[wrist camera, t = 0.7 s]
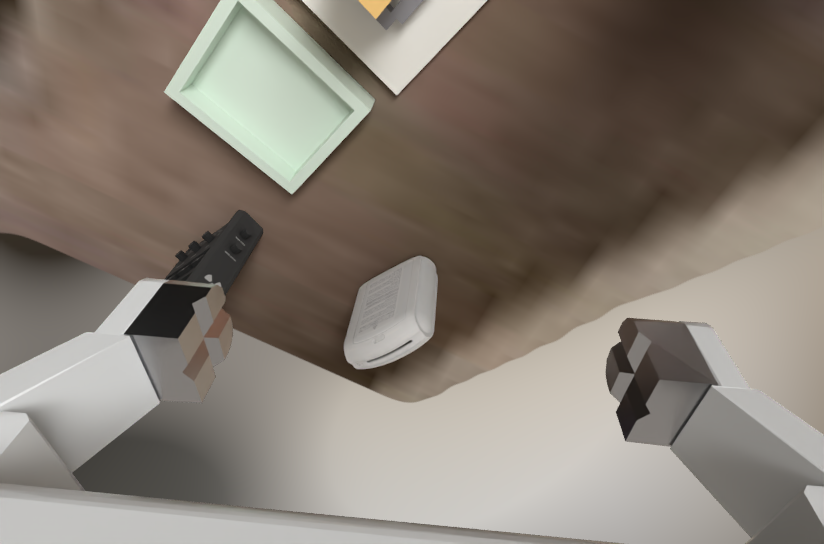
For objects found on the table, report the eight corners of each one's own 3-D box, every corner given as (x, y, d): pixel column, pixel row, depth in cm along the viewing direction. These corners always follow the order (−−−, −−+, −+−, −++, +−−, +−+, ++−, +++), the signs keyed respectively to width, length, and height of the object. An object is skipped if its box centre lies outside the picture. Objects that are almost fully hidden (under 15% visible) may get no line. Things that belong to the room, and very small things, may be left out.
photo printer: (375, 307, 60) (359, 386, 50) (354, 285, 58) (332, 362, 48) (443, 273, 56) (440, 351, 46) (423, 248, 54) (414, 323, 44)
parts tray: (247, -25, 39) (233, -21, 36) (375, 99, 44) (370, 110, 42) (179, 82, 44) (164, 92, 42) (300, 181, 50) (292, 194, 47)
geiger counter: (241, 197, 52) (175, 284, 40) (271, 227, 54) (217, 318, 42) (182, 241, 56) (107, 331, 44) (212, 267, 58) (148, 359, 46)
